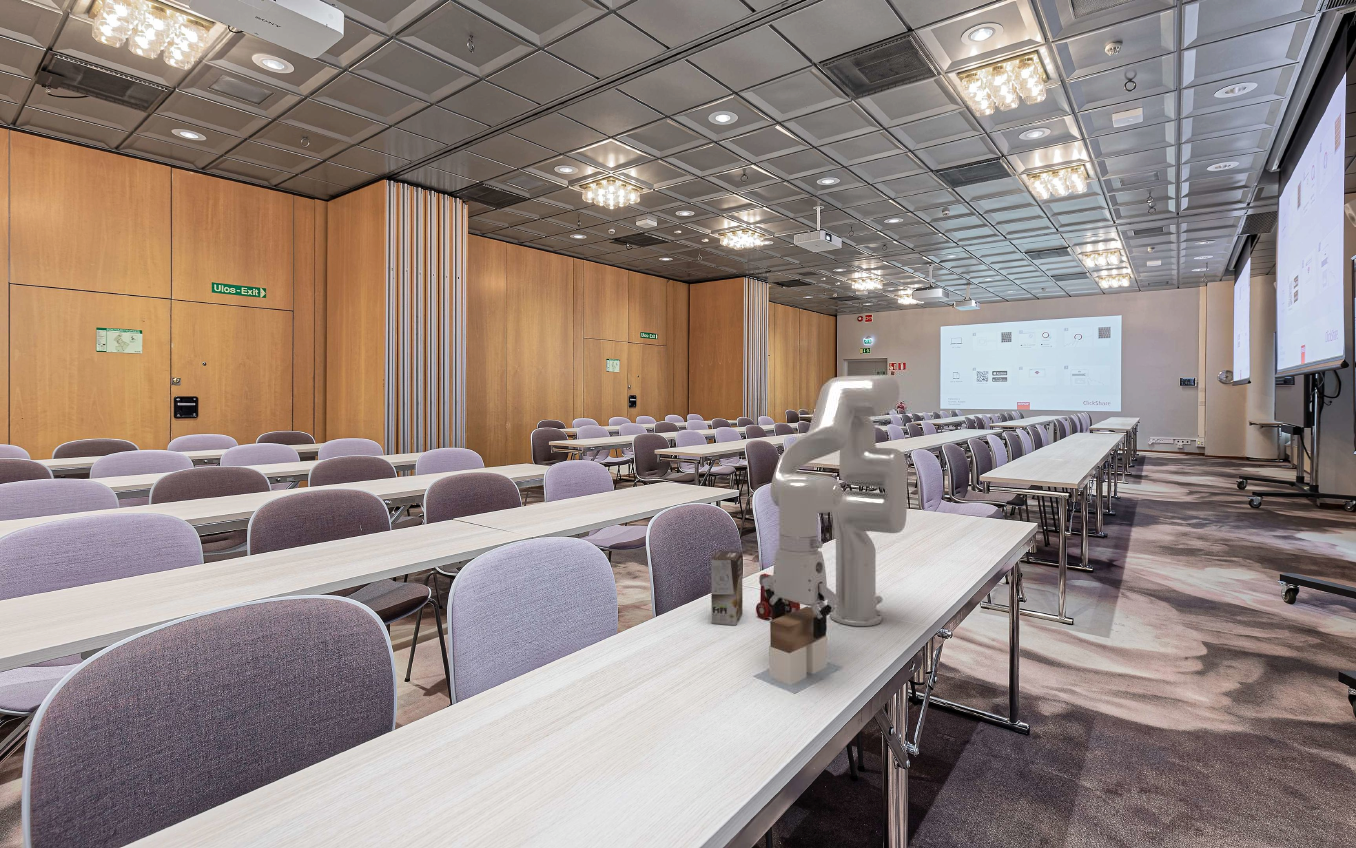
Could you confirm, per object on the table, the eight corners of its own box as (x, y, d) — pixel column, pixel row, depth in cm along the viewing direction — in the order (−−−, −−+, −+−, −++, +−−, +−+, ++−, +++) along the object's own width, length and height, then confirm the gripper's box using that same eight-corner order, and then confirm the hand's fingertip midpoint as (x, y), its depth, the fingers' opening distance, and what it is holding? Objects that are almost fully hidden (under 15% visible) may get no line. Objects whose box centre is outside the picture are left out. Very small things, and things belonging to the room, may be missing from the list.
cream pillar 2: (806, 659, 127) (806, 630, 127) (827, 666, 123) (827, 636, 123) (791, 666, 123) (791, 636, 123) (812, 674, 120) (812, 643, 119)
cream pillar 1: (785, 669, 122) (785, 639, 122) (806, 677, 118) (806, 646, 118) (769, 677, 119) (769, 646, 118) (790, 685, 115) (790, 653, 115)
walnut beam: (807, 630, 126) (807, 606, 126) (826, 636, 123) (825, 611, 123) (770, 646, 118) (770, 620, 118) (789, 653, 115) (789, 627, 115)
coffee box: (736, 626, 149) (736, 560, 148) (710, 624, 150) (710, 558, 150) (743, 613, 157) (742, 551, 157) (718, 611, 159) (718, 549, 159)
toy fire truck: (787, 629, 146) (787, 586, 146) (751, 615, 156) (750, 574, 156) (807, 622, 151) (807, 580, 150) (770, 609, 160) (770, 570, 160)
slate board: (802, 657, 130) (802, 652, 130) (843, 672, 123) (843, 667, 123) (752, 681, 119) (752, 676, 119) (795, 699, 112) (795, 693, 112)
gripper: (848, 547, 116) (848, 636, 117) (775, 533, 129) (775, 614, 129) (825, 554, 111) (825, 647, 112) (751, 539, 124) (752, 623, 124)
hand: (798, 629), depth 121 cm, fingers open, 9 cm apart
